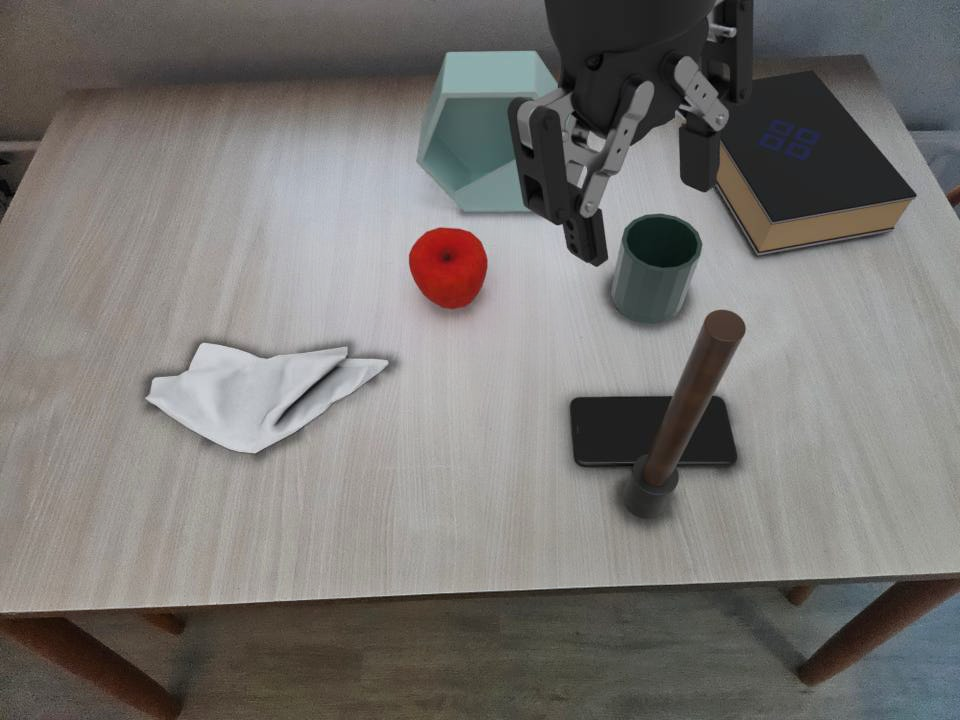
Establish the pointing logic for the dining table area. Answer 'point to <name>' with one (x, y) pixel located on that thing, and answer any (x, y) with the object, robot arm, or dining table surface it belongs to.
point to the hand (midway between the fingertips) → (646, 221)
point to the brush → (683, 414)
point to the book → (804, 169)
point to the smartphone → (644, 432)
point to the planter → (479, 126)
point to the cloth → (257, 392)
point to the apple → (448, 266)
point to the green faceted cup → (655, 267)
